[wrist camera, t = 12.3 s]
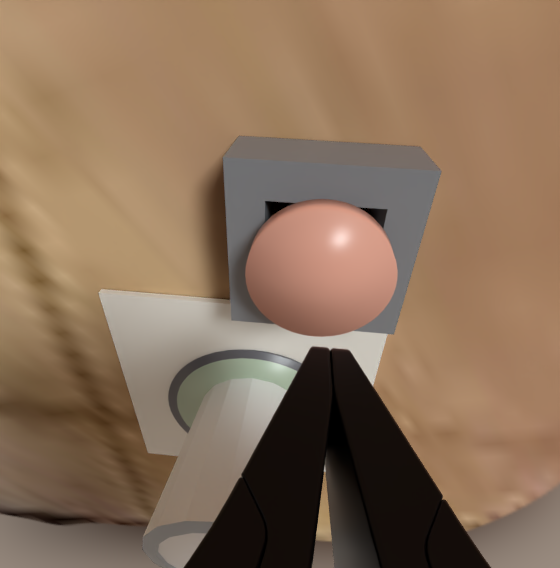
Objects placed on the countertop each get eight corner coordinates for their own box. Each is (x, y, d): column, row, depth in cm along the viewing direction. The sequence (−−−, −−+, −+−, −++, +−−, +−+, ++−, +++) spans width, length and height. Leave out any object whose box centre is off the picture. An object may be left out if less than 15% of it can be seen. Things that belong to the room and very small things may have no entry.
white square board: (149, 448, 24) (147, 454, 24) (101, 289, 17) (96, 294, 16) (348, 469, 23) (348, 476, 23) (390, 313, 16) (392, 319, 16)
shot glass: (290, 358, 17) (275, 518, 12) (330, 440, 21) (334, 594, 15) (168, 382, 19) (104, 530, 14) (223, 453, 23) (191, 595, 17)
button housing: (242, 282, 16) (231, 320, 14) (238, 135, 12) (223, 157, 10) (383, 293, 15) (393, 334, 13) (420, 146, 12) (441, 170, 10)
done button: (261, 268, 15) (246, 330, 12) (262, 161, 13) (243, 205, 10) (368, 277, 15) (380, 342, 12) (391, 169, 12) (414, 216, 9)
